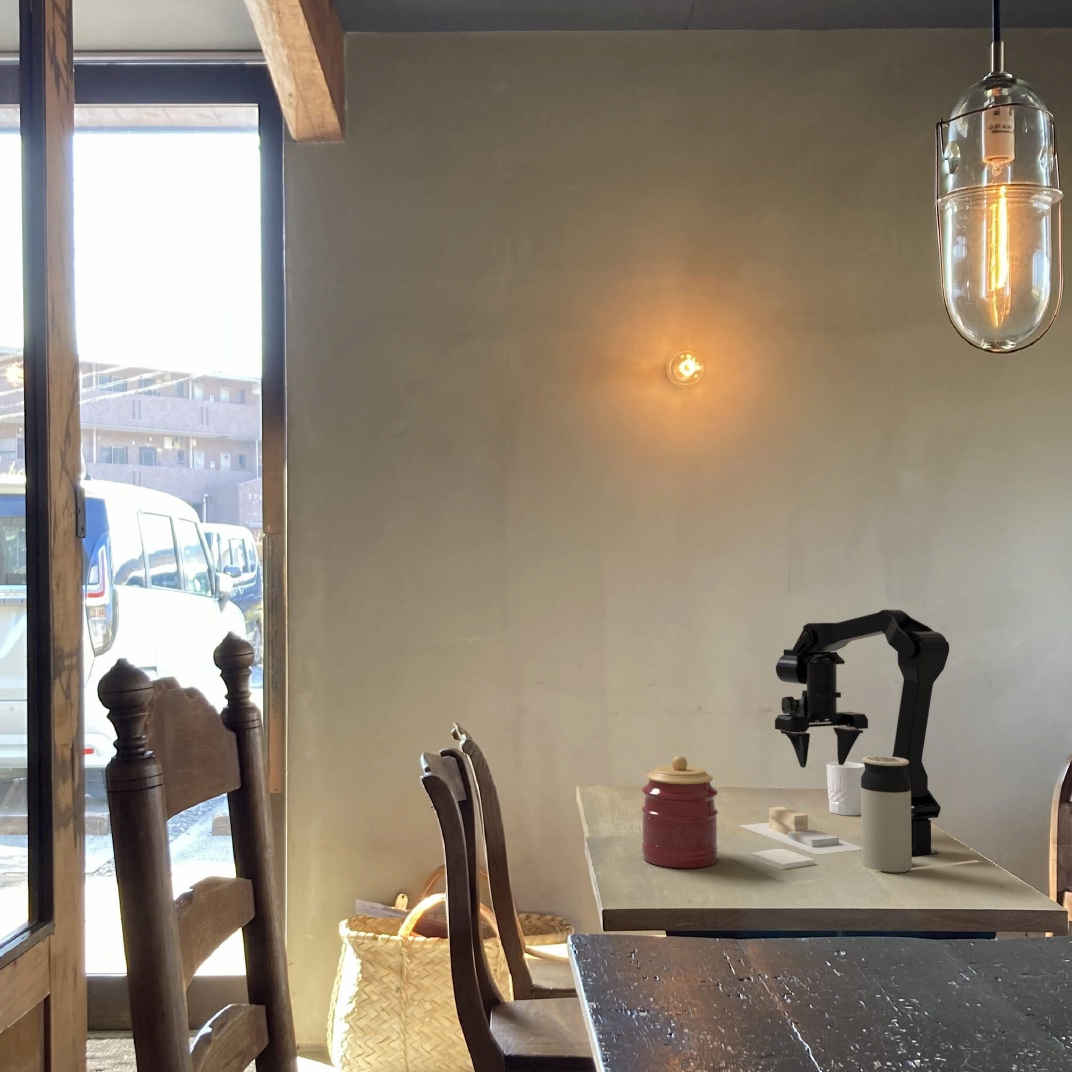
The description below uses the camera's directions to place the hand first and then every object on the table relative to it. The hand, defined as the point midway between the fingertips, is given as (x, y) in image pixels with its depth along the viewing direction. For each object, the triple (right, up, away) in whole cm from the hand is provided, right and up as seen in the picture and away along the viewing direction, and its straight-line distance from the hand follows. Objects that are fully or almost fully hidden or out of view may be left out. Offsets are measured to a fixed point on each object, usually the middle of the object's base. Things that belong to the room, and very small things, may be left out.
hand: (822, 766), depth 203 cm
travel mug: (+3, -11, -30) cm, 32 cm away
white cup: (+9, -13, +14) cm, 21 cm away
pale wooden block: (-7, -11, -10) cm, 16 cm away
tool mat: (-7, -11, -10) cm, 17 cm away
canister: (-32, -11, -26) cm, 42 cm away
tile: (-16, -10, -24) cm, 31 cm away
